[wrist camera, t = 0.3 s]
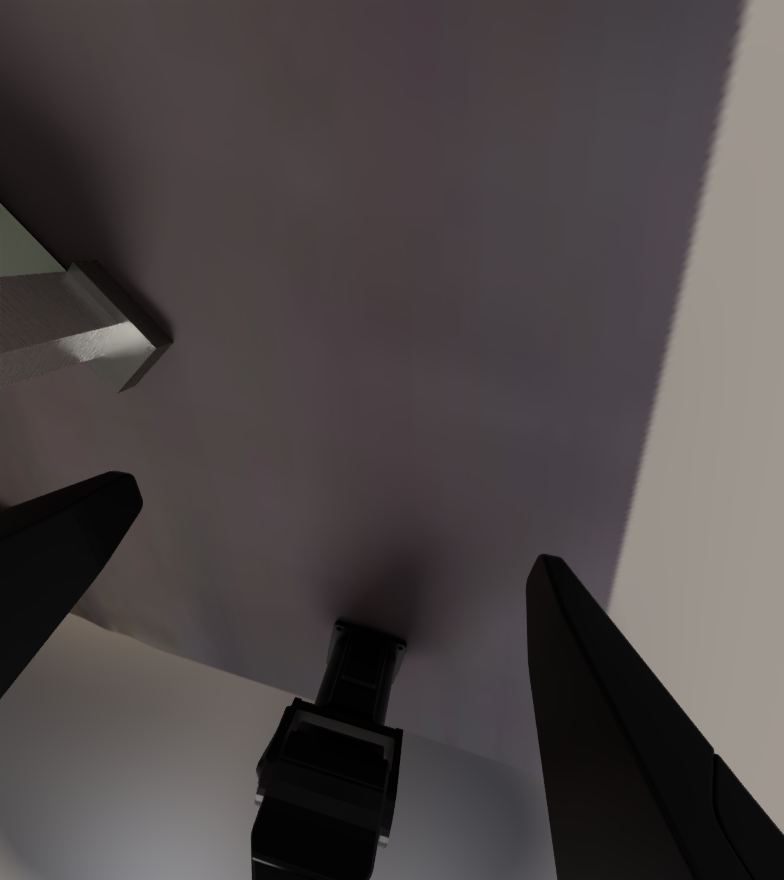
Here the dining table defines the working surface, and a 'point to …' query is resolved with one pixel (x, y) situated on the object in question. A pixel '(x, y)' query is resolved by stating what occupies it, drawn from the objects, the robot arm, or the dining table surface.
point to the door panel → (22, 250)
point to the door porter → (75, 327)
